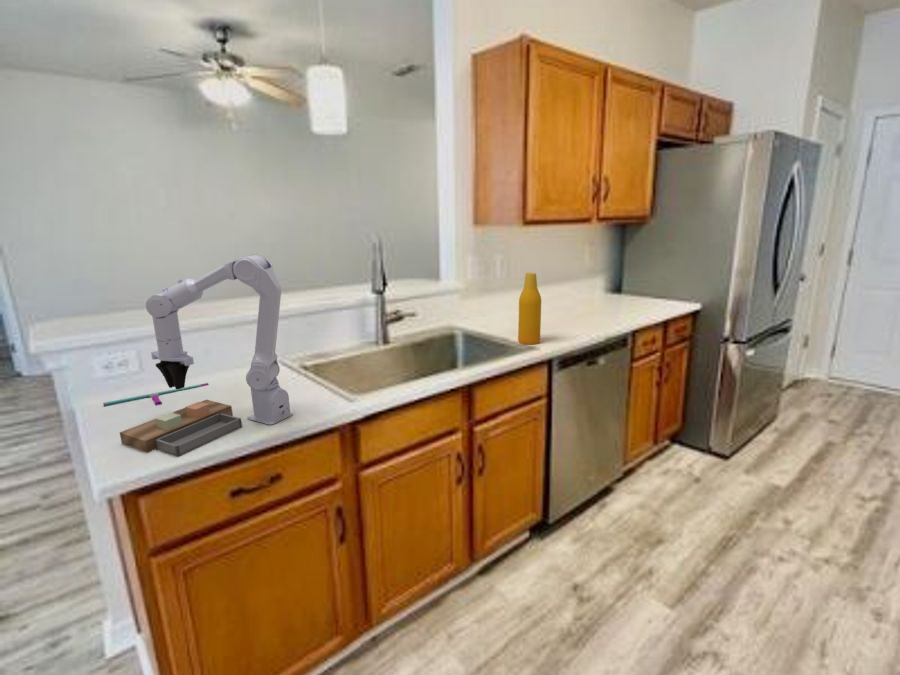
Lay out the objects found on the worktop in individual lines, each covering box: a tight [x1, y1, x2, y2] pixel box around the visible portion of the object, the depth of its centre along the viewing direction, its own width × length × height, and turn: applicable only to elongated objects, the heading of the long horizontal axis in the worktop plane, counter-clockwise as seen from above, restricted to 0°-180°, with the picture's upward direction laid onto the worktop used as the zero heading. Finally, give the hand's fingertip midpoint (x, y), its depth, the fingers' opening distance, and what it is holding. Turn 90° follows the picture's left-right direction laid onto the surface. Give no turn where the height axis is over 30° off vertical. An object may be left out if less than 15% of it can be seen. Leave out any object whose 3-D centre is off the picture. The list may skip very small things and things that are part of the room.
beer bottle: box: [517, 272, 542, 346], centre depth 205 cm, size 9×9×29 cm
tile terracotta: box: [184, 401, 210, 418], centre depth 131 cm, size 4×4×2 cm
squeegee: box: [102, 382, 210, 407], centre depth 151 cm, size 29×2×10 cm
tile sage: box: [155, 411, 182, 430], centre depth 124 cm, size 4×4×2 cm
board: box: [119, 399, 234, 454], centre depth 130 cm, size 10×24×3 cm, turn 152°
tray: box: [155, 413, 243, 458], centre depth 124 cm, size 8×18×2 cm, turn 152°
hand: (176, 387), depth 133 cm, fingers open, 2 cm apart
